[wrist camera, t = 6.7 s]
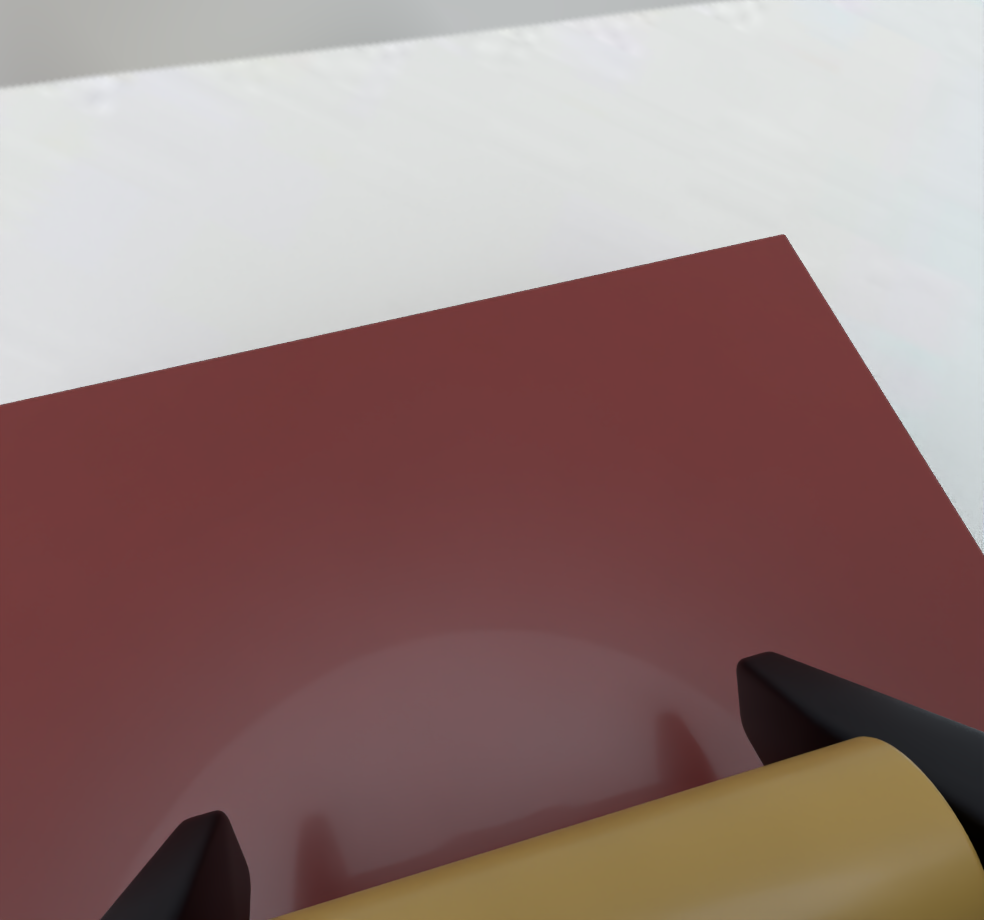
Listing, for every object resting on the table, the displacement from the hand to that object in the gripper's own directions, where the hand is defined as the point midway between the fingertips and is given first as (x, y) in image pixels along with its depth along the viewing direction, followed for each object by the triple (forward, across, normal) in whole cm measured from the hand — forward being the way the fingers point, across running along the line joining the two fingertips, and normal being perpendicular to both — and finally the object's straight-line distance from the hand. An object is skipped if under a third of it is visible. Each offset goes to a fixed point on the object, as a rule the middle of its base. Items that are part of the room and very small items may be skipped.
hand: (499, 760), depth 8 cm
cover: (+3, 0, 0) cm, 3 cm away
